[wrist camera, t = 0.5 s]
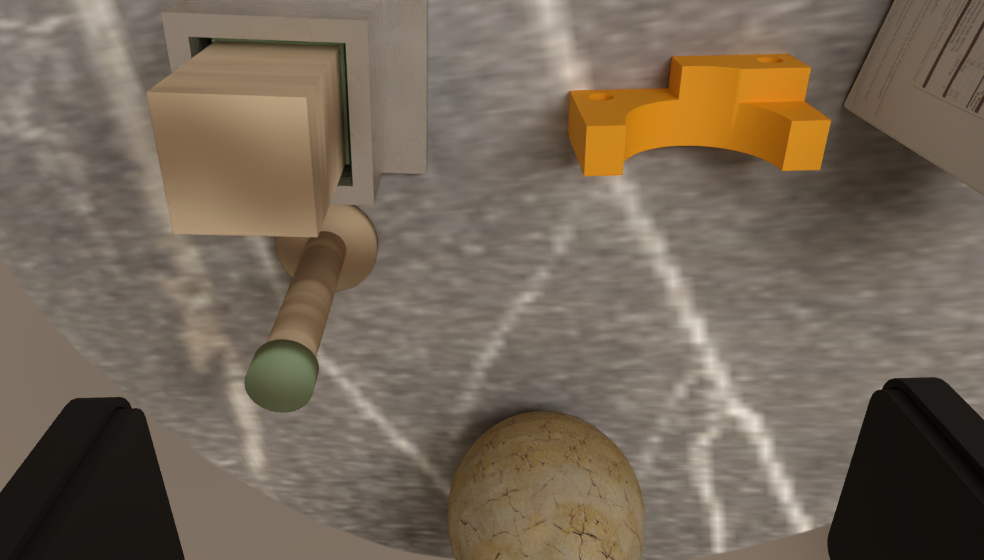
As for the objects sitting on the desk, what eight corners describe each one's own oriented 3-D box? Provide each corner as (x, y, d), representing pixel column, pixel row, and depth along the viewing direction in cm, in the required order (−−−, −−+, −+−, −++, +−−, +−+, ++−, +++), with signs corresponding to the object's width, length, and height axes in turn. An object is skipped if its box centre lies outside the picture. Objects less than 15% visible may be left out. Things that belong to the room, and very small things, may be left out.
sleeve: (184, -69, 36) (97, -46, 27) (427, -57, 37) (417, -32, 28) (218, 161, 42) (155, 239, 33) (427, 167, 43) (418, 245, 34)
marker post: (274, 195, 43) (200, 328, 31) (376, 197, 44) (343, 331, 31) (284, 282, 46) (219, 436, 34) (379, 284, 47) (350, 438, 34)
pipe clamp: (787, 53, 40) (839, 84, 35) (772, 129, 43) (820, 169, 37) (570, 57, 40) (588, 90, 35) (567, 134, 42) (584, 176, 37)
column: (253, 7, 37) (140, 87, 24) (362, 11, 37) (310, 93, 24) (264, 113, 40) (169, 237, 27) (366, 117, 40) (321, 241, 27)
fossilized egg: (656, 410, 53) (720, 591, 40) (564, 522, 58) (595, 713, 45) (501, 344, 49) (516, 518, 36) (419, 469, 55) (406, 660, 42)
